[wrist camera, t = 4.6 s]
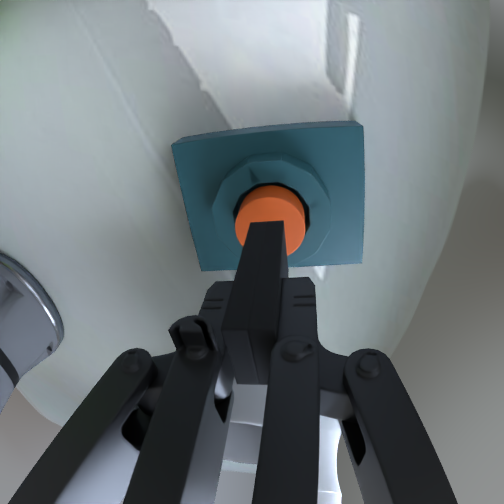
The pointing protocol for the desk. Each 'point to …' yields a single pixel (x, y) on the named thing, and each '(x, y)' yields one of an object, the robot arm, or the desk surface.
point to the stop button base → (278, 174)
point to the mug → (245, 423)
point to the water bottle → (328, 462)
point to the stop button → (273, 214)
